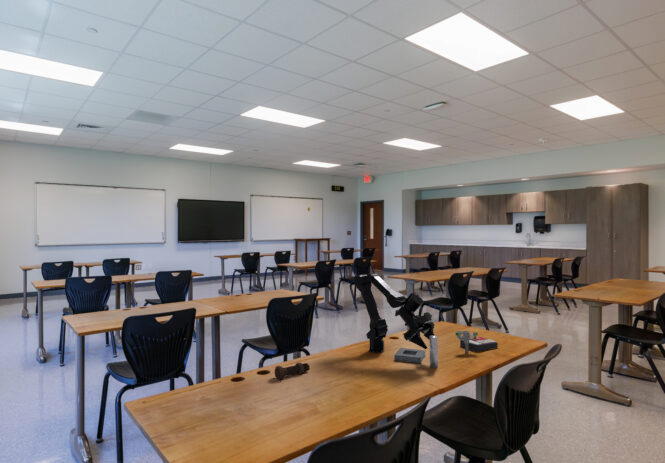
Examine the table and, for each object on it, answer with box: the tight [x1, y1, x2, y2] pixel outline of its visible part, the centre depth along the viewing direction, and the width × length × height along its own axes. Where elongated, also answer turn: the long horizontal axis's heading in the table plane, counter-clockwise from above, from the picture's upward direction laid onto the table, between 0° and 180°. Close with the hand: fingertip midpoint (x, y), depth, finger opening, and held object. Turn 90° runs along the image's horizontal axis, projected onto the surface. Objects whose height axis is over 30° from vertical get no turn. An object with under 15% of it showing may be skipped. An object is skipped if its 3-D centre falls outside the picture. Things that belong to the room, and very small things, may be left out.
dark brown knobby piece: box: [274, 362, 311, 381], centre depth 164 cm, size 6×5×15 cm
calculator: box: [459, 336, 498, 353], centre depth 200 cm, size 11×4×15 cm
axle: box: [428, 335, 439, 369], centre depth 172 cm, size 4×4×13 cm
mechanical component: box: [454, 330, 478, 354], centre depth 192 cm, size 3×10×10 cm, turn 89°
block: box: [393, 347, 426, 364], centre depth 184 cm, size 12×12×2 cm
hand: (431, 346), depth 173 cm, fingers open, 9 cm apart
